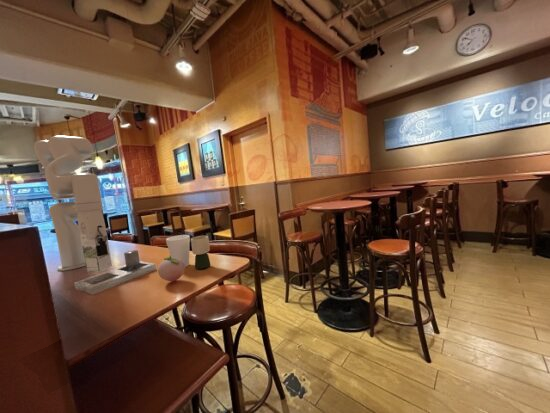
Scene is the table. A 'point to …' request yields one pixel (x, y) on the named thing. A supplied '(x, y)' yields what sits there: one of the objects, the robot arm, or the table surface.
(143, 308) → the table surface
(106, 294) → the table surface
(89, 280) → the hole plate
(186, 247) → the foam cup
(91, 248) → the syrup box
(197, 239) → the character mug
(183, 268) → the decorative fruit
